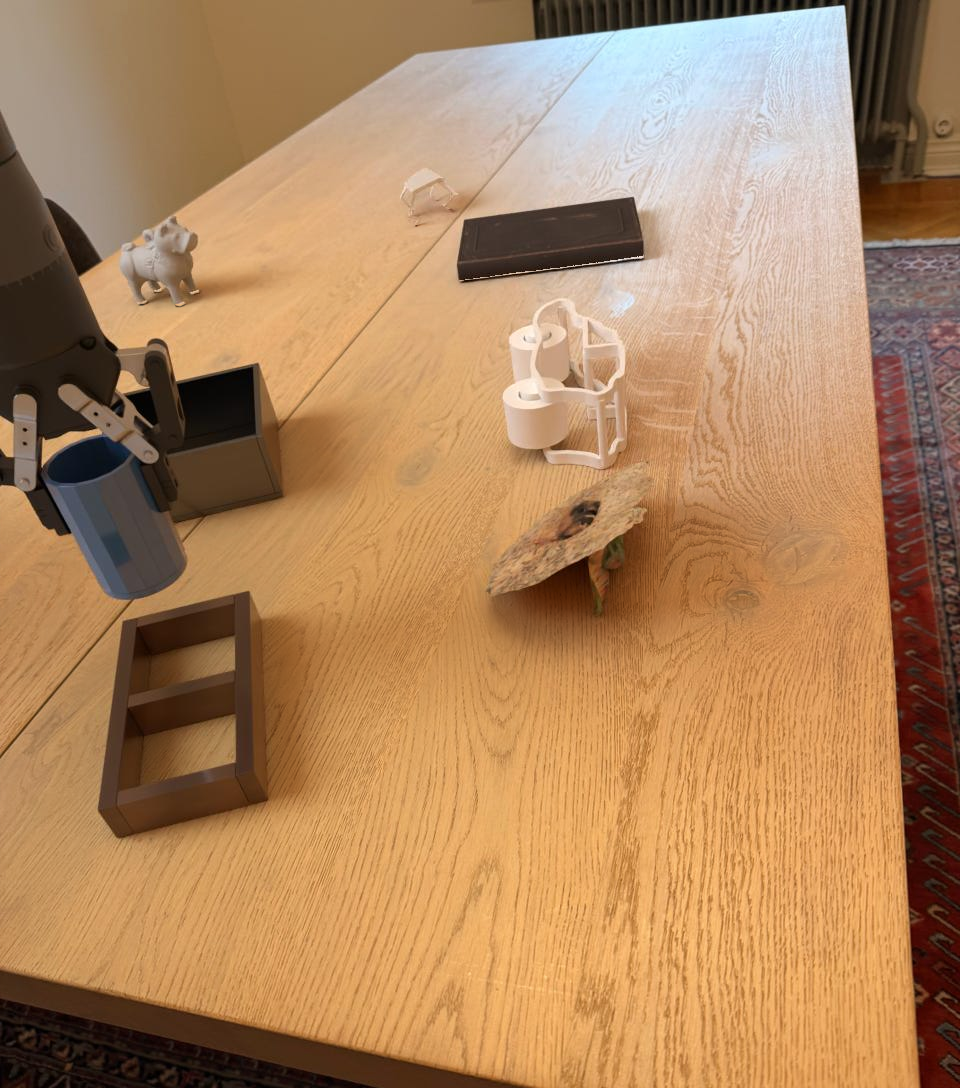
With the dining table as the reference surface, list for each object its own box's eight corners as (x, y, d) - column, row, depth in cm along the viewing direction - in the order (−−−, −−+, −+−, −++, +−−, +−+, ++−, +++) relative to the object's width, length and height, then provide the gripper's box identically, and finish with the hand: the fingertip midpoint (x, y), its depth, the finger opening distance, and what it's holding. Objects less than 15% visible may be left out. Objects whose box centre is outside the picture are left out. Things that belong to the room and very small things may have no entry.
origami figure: (463, 218, 135) (458, 182, 132) (406, 230, 135) (399, 194, 132) (454, 192, 144) (449, 158, 140) (401, 203, 144) (394, 169, 140)
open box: (122, 535, 87) (92, 475, 82) (135, 453, 98) (109, 396, 94) (283, 497, 88) (262, 435, 83) (277, 419, 99) (258, 362, 94)
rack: (116, 838, 61) (96, 810, 59) (137, 648, 74) (122, 620, 72) (268, 800, 61) (254, 771, 59) (261, 618, 75) (249, 589, 73)
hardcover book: (466, 236, 130) (463, 219, 128) (634, 214, 126) (633, 196, 125) (459, 283, 118) (456, 265, 116) (644, 260, 115) (643, 241, 113)
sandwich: (515, 592, 83) (481, 512, 80) (673, 535, 79) (643, 450, 77) (503, 676, 66) (460, 579, 63) (702, 608, 63) (666, 504, 60)
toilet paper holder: (517, 370, 99) (509, 303, 94) (623, 360, 97) (620, 291, 92) (507, 477, 84) (496, 405, 80) (631, 467, 83) (628, 392, 78)
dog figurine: (205, 308, 124) (176, 226, 117) (128, 306, 129) (95, 227, 122) (226, 290, 128) (199, 210, 121) (150, 289, 132) (120, 211, 125)
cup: (96, 609, 62) (34, 495, 56) (105, 556, 66) (48, 445, 60) (186, 588, 62) (134, 473, 56) (189, 536, 66) (141, 425, 60)
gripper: (131, 208, 53) (226, 462, 64) (-126, 262, 52) (17, 510, 63) (119, 254, 47) (226, 524, 59) (-168, 316, 46) (-4, 577, 58)
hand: (117, 516), depth 61 cm, fingers closed on cup, 6 cm apart
